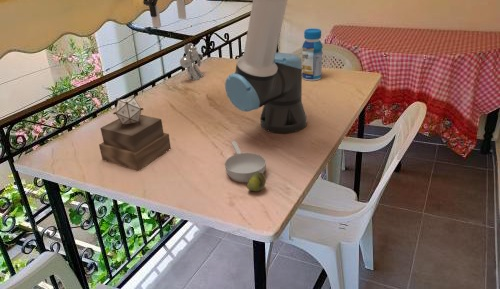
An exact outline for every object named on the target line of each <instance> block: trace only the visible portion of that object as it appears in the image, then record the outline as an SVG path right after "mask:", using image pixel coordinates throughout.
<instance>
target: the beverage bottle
mask: <svg viewBox="0 0 500 289" xmlns="http://www.w3.org/2000/svg"><path fill="white" fill-rule="evenodd" d="M303 37H304V39H305V40H304V42H303V44H302V46H301V47H302V51H301V57H302V58H301V61H302V80H305V81H309V82H313V81H319V80H321V79H322V66H323V63H322V62H323V56H324V53H323V52H324V51H323V47H324V46H323V43H322V41H321V38H322V30H321V29H319V28H307V29H304V31H303Z"/></svg>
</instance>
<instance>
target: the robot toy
mask: <svg viewBox="0 0 500 289" xmlns="http://www.w3.org/2000/svg"><path fill="white" fill-rule="evenodd" d="M197 49H198V48H197V46H195V45H193V43H192V42H190V43H187V44H184V49H183V50H184V54H185V55H186V56H182V57H181V58H180V59H179V65H180V66H181V67H182V68H185V69H187V74H188V75H189V77H188V78H187V79H188V80H191V81H192V80H193V81H198V80H200V78H203V77H204V73H203V72H202V71H200V67H201V64H202V61H203V58H204V57H203V56H204V55H203V54H202V53H199V52H198V51H197ZM195 62H197V64H195Z"/></svg>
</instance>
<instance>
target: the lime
mask: <svg viewBox="0 0 500 289" xmlns="http://www.w3.org/2000/svg"><path fill="white" fill-rule="evenodd" d="M246 183H247V184H246V189H248V190H249V191H251V192H259V191H261V190H262V189H264V188H265V185H266V177H265V175H264V173H263V174H262V173H261V172H257V173H255V174H254V175H253V176H252V177H251V178H250V180H249V181H248V182H246Z"/></svg>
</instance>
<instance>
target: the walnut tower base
mask: <svg viewBox="0 0 500 289" xmlns="http://www.w3.org/2000/svg"><path fill="white" fill-rule="evenodd" d="M139 122H140V123H141V124H139V123H138V122H137V123H130V124H124V125H123V127H122V123H121V121H120V120H119V118H117V119H116V120H113V121H112V122H109V123H108V124H106V125H104V126H102V127H100V132H101V136H102V141H103V142H101V143H99V144H98V146H99V151H100V155H101V159H102V161H105V162H109V163H111V164H115V165H118V166H121V167H125V168H129V169H132V170H134V171H135V170H136V171H140V170H141V169H143V168H144V167H146V166H148V165H149V164H150V162H151V163H152V162H153V161H155V160H156V159H158V158H159V157H161V156H163V155H164V154H165V153H167V152H168V151H170V150H171V149H172V148H171V141H170V134H169V133H167V132H164V127H163V121H162V118H158V117H153V116H150V115H144V114H140V119H139ZM169 149H170V150H169ZM166 151H167V152H166ZM163 153H164V154H163ZM160 155H161V156H160ZM157 157H158V158H157Z"/></svg>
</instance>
